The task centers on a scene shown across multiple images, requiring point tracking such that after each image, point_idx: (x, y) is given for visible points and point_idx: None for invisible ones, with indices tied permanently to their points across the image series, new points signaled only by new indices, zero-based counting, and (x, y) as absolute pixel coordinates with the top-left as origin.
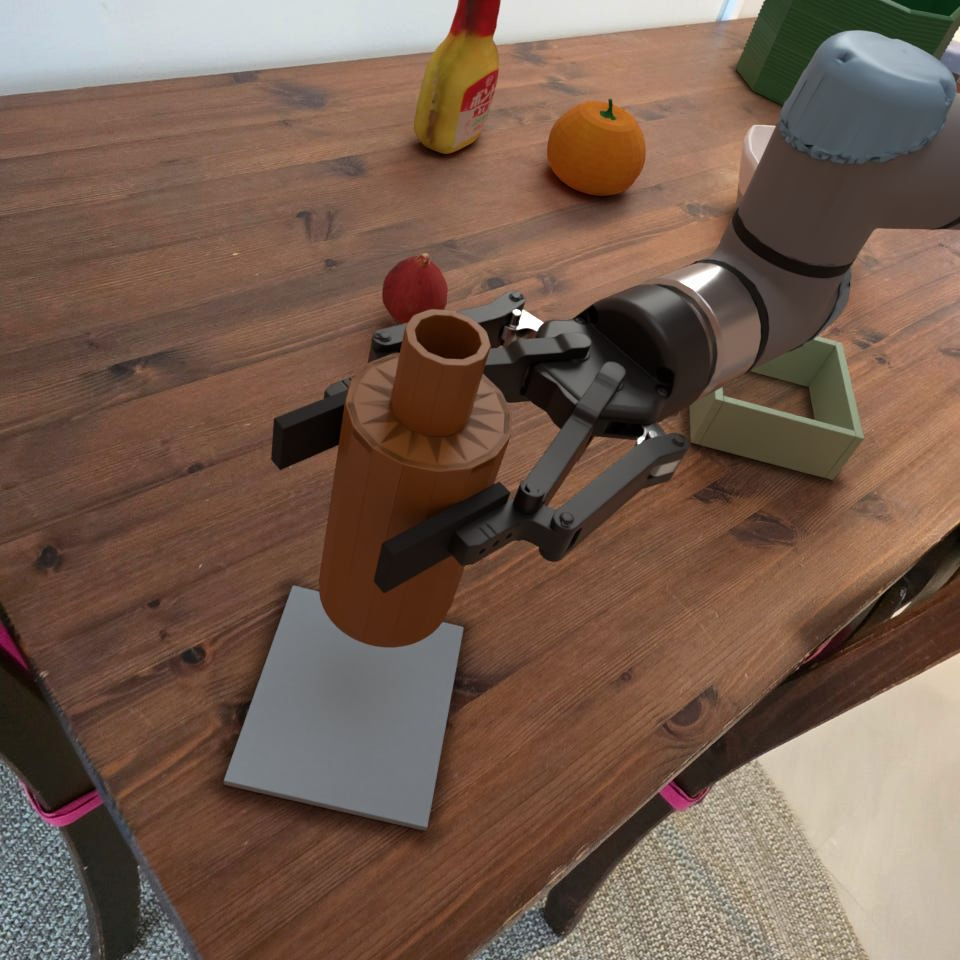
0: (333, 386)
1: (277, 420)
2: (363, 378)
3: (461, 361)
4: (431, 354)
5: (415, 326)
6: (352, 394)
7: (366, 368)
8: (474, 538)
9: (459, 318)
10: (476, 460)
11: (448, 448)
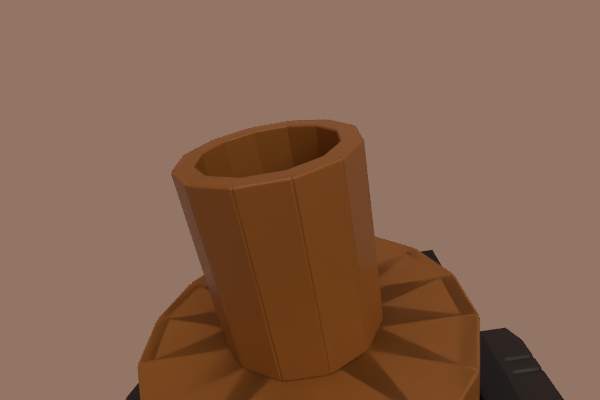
0: (514, 340)
1: (427, 252)
2: (413, 260)
3: (196, 150)
4: (244, 132)
5: (321, 124)
6: (382, 243)
7: (436, 267)
8: (139, 395)
9: (306, 163)
10: (160, 331)
11: (211, 306)
